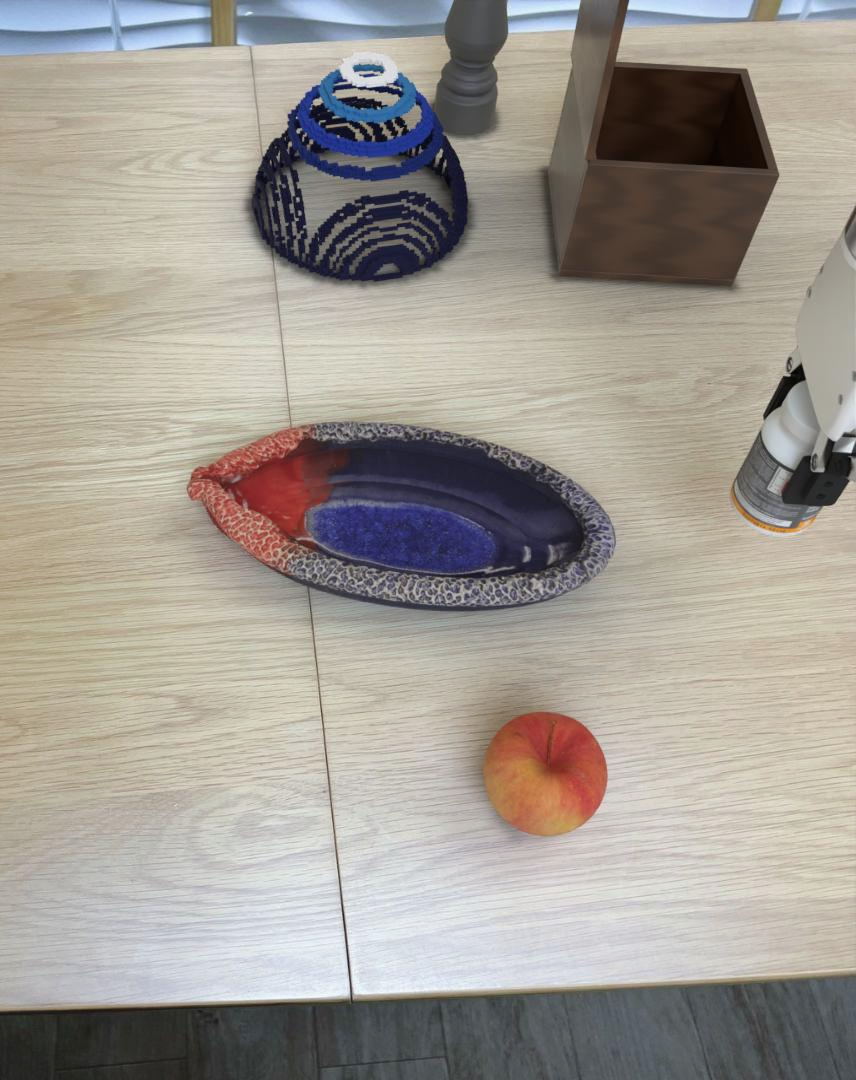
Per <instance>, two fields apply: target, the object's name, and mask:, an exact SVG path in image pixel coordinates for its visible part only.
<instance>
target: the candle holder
mask: <svg viewBox="0 0 856 1080" xmlns="http://www.w3.org/2000/svg"><path fill="white" fill-rule="evenodd" d="M507 2H508V1H507V0H453V1H452V4H451V6H450V9H449V11H448V14H447V17H446V19H445V23H444V28H443V30H444V31H443V32H444V38H445V43H446V46H447V48H448V50H449V56H450V59H449V60H448V61H447V62H445V64H444V66H442V69H441V71H440V76H441V77H440V79H439V81H438V82H437V84H436V90H435V96H434V97H435V98H434V106H433V112H435V114H436V116H437V117H438V119H439V121H440V123H441V125H442V127H443V129H444V130H443V131H446V132H448V133H450V134H454V135H458V136H474V135H478V134H483V133H484V132H486V131H487V130H489V129H490V128H491V127H492V125H493V123H494V118H495V113H496V107H497V101H498V96H499V91H498V81H499V76H498V70H497V69H496V68H495V65H494V61H495V60H496V56H497V55H498V54H499V53H500V51H502V49H503V47H504V46H505V44H506V42H507V40H508V37H509V19H508V18H509V17H508V3H507Z"/></svg>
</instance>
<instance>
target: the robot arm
mask: <svg viewBox="0 0 856 1080" xmlns="http://www.w3.org/2000/svg"><path fill="white" fill-rule="evenodd" d="M805 294H806V295H805V297H804V299H803V301H802V304H801V306H800V309H799V311H798V314H797V317H796V320H795V339H796V348H794V350H793V351H792V352H791V353H790V354H789V355H788V356H787V358H786V361H785V372H786V374H787V375H783V376H782V377H781V379H780V381H779V383H778V384H777V387H776V389H775V391H774V392H773V394H772V396H771V399H770V400H769V402H768V404H767V406H766V408H765V410H764V412H763V414H762V418H763V422H764V421H765V419H766V418H767V417H768V416H769V414H771V413H772V412H773V411H774V410H775V409H777V408H779V407H781V406H782V403H783V401H784V400H785V398H786V396H787V395H788V393H789V391H790V390H791V389H792V388H793V387H794V386H795V385H796V384H798V383H800V382H802V381H805V380H806V381H807V384H808V388H809V392H810V396H811V399H812V403H813V406H814V410H815V413H816V417H817V420H818V423H819V425H820V427H821V429H820V432H819V435H818V438H817V441H816V444H815V447H814V450H813V453H812V456H810V455H808V456H803V458H802V459H801V461H800V463H799V464H798V466H797V468H796V470H795V471H794V473H793V475H792V476H791V478H790V480H789V481H788V483H787V485H786V487H785V488H784V490H783V492H782V493H781V496H782V501H783V503H785V504H795V505H807V506H815V507H820V506H823V507H830V506H833V505H835V504H836V503H837V502H838V500H839V498H840V497H841V495H842V494H843V493H844V491H845V490H846V488H847V486H848V485H849V483H850V482H854V483H856V441H855V444H854V447H853V449H852V452H851V453H848V452H832V450H833V448H834V445H835V442H836V441H838V440H839V439H840V438H842V437H850V438H856V204H854V206H853V209H852V210H851V213H850V214H849V216H848V219H847V221H846V222H845V225H844V227H843V229H842V231H841V234H840V235H839V237H838V239H837V240H836V241H835V243H834V245H833V247H832V248H831V250H830V251H829V253H828V255H827V257H826V258H825V260H824V262H823V263H822V265H821V267H820V269H819V270H818V272H817V274H816V276H815V278H814V279H813V282H812V284H810V285H809V286H808V288H807V290H806V293H805Z"/></svg>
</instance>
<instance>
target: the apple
mask: <svg viewBox="0 0 856 1080" xmlns="http://www.w3.org/2000/svg"><path fill="white" fill-rule="evenodd" d="M482 770H483V771H482V775H483V784H484V788H485V791H486V794H487V796H488V799H489V801H490V803H491V805H492V806H493V808H494V810H495V811H496V812H497V813H498V814H499V815H500V817H501V818H502V819H503V820H504V821H505V822H507V823H508V824H509V825H511V826H512V827H513V828H515V829H517V830H520V832H523V833H525V834H529V835H533V836H539V837H555V836H560V835H565V834H569V833H570V832H573V831H575V830H576V829H579V828H580V827H582V826H583V825H585V824H586V823H587V822H588V821H589V820H590V819H591V818H593V816H594V815H595V814H596V812H597V811H598V810H599V808H600V806H601V804H602V802H603V800H604V797H605V795H606V791H607V788H608V787H607V786H608V777H609V775H608V774H609V773H608V766H607V760H606V757H605V753H604V751H603V749H602V747H601V744H600V743H599V742H598V740H597V738H596V737H595V735H594V734H593V733H592V732H591V730H589V729H588V727H587V726H585V725H584V724H583V723H582V722H581V721H579V720H578V719H575V718H574V717H571V716H568V715H564V714H561V713H556V712H551V711H532V712H527V713H523V714H520V715H518V716H516V717H514V718H512V719H510V720H509V721H508V722H506V723H505V724H504V725H502V727H501V728H500V729H499V730H497V731H496V733H495V734H494V736H493V737H492V739H491V740H490V743H489V744H488V747H487V749H486V752H485V756H484V760H483V768H482Z"/></svg>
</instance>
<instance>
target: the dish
mask: <svg viewBox="0 0 856 1080" xmlns="http://www.w3.org/2000/svg"><path fill="white" fill-rule="evenodd" d="M186 491H187V495H188V498H189V499H190V500H191V501H201V502H202V504H203V505H204V507H205V509H206V512H207V515H208V517H209V518H210V519H211V521H212V523H213V524H214V526H215V527H216V528H217V529H218V531H220V532H221V533H222V534H223V535H225V536H226V537H227V538H229V540H232V541H233V542H234V543H235V544H237V545H238V546H239V547H240V548H241V549H243V550H244V551H245V552H247V553H248V554H249V555H250V556H252V557H253V558H254V559H255V560H257V561H258V562H260V563H261V564H263V565H264V566H266V567H267V568H269V569H270V570H272V571H274V572H276V573H278V574H279V575H281V576H283V577H285V578H287V579H289V580H291V581H293V582H296V583H298V584H301V585H303V586H306V587H309V588H311V589H314V590H316V591H319V592H323V593H327V594H331V595H334V596H338V597H341V598H346V599H350V600H355V601H359V602H364V603H369V604H374V605H379V606H387V607H393V608H402V609H410V610H417V611H418V610H419V611H432V612H433V611H435V612H483V611H496V610H497V611H499V610H506V609H513V608H522V607H526V606H531V605H535V604H539V603H544V602H548V601H550V600H553V599H556V598H558V597H561V596H564V595H566V594H568V593H569V592H572V591H575V590H577V589H579V588H581V587H583V586H584V585H586V584H588V583H590V582H591V581H593V580H595V578H596V577H597V576H599V575H600V573H602V572H604V570H606V568H607V565H608V564H609V563H610V561H611V559H612V557H613V556H614V554H615V550H616V545H617V539H616V538H617V537H616V530H615V527H614V524H613V522H612V520H611V518H610V516H609V515H608V514H607V512H606V511H605V509H604V508H603V507H602V505H601V503H599V502H598V500H596V499H595V498H594V497H593V495H591V494H590V493H589V492H588V491H587V490H586V489H585V488H584V487H582V486H581V485H579V484H578V483H577V482H575V481H574V480H573V479H572V478H570V477H569V476H567V475H565V474H564V473H562V472H560V471H558V470H557V469H555V468H554V467H551V466H549V465H547V464H546V463H544V462H541V461H539V460H537V459H535V458H533V457H531V456H528V455H526V454H523V453H522V452H518V451H516V450H513V449H510V448H508V447H505V446H503V445H500V444H496V443H493V442H490V441H486V440H485V439H480V438H476V437H472V436H468V435H464V434H460V433H457V432H451V431H446V430H441V429H435V428H431V427H423V426H416V425H409V424H401V423H400V424H399V423H390V422H389V423H388V422H375V421H331V422H330V421H329V422H319V423H312V424H304V425H299V426H295V427H290V428H285V429H282V430H279V431H275V432H273V433H271V434H268V435H265V436H264V437H262V438H259V439H257V440H255V441H252V442H250V443H248V444H245V445H243V446H240V447H237V448H235V449H233V450H231V451H228V452H227V453H226V454H224V455H223V456H222V457H220V458H219V459H217V460H215V462H213V463H211V464H209V465H208V466H197V467H196V468H194V469H193V471H192V472H191V474H190V479H189V481H188V483H187V485H186Z"/></svg>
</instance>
